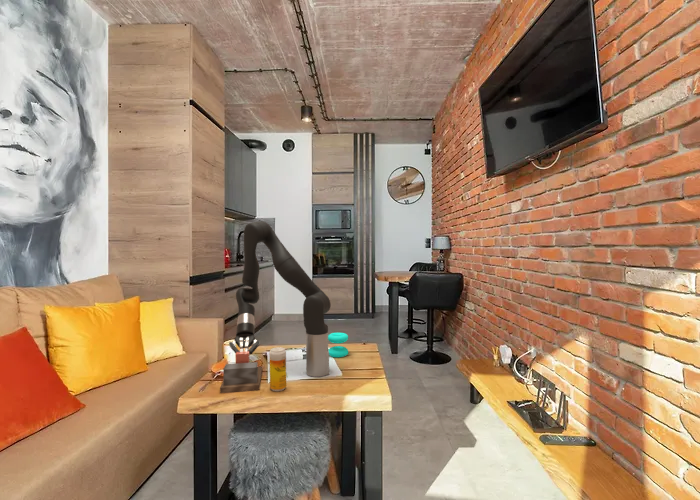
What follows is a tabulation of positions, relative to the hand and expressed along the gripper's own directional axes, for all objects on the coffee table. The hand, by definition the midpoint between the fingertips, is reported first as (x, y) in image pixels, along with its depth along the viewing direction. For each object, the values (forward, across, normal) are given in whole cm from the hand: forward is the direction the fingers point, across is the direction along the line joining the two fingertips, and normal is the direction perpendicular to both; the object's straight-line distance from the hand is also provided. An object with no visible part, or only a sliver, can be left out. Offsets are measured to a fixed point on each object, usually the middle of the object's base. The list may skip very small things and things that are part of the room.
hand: (243, 363), depth 151 cm
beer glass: (+14, +14, -5) cm, 21 cm away
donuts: (-10, +42, +19) cm, 48 cm away
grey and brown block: (+7, 0, +2) cm, 7 cm away
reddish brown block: (+5, 0, +1) cm, 5 cm away
